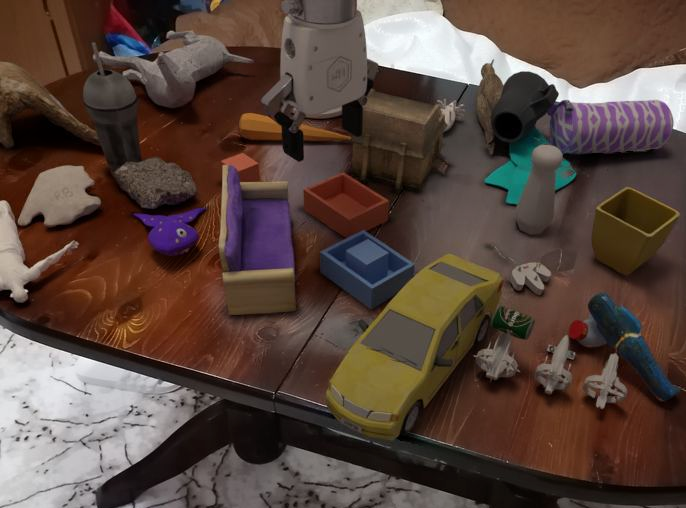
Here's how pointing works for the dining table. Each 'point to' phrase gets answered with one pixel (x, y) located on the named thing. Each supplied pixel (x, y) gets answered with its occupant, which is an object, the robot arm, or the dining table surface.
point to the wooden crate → (399, 142)
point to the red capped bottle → (586, 333)
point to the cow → (450, 112)
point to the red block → (244, 167)
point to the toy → (171, 232)
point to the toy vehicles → (552, 370)
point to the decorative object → (60, 197)
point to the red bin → (345, 205)
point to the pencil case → (609, 126)
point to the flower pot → (630, 229)
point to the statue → (176, 67)
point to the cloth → (523, 167)
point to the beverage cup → (113, 114)
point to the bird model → (488, 101)
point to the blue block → (368, 261)
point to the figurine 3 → (629, 343)
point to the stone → (155, 182)
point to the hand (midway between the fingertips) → (323, 144)
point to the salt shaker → (539, 191)
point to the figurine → (19, 257)
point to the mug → (521, 105)
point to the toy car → (413, 347)
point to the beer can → (512, 323)
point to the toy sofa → (256, 246)
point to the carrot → (280, 130)
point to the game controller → (529, 276)
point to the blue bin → (355, 284)
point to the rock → (33, 104)
